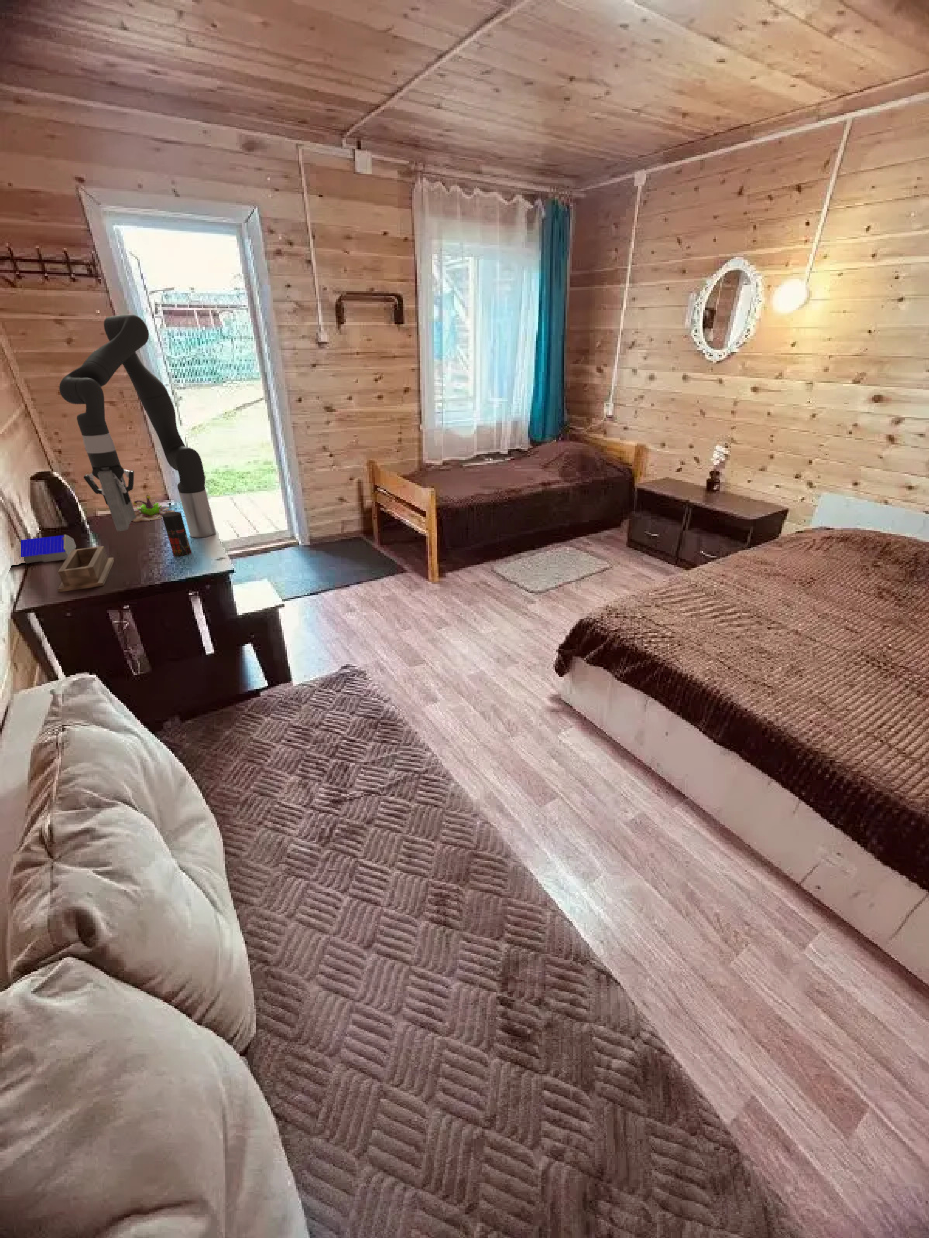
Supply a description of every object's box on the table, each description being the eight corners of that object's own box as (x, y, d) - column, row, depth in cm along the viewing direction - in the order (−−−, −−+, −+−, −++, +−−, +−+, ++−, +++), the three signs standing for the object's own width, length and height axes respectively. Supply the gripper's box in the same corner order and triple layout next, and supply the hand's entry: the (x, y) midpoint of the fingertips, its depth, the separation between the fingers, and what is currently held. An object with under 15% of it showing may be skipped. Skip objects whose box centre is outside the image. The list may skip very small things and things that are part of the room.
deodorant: (172, 553, 190) (161, 513, 183) (190, 550, 193) (180, 510, 186) (174, 558, 185) (162, 517, 178) (192, 555, 188) (181, 515, 181)
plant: (133, 529, 216) (124, 502, 211) (122, 518, 229) (114, 493, 223) (184, 519, 228) (177, 494, 222) (171, 510, 240) (164, 485, 235)
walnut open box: (114, 560, 184) (108, 543, 182) (103, 585, 165) (97, 568, 162) (74, 565, 180) (68, 548, 177) (58, 592, 161) (51, 574, 158)
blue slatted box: (77, 547, 196) (70, 528, 193) (68, 560, 185) (60, 540, 182) (6, 555, 189) (-3, 536, 186) (-8, 569, 178) (-18, 549, 174)
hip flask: (127, 530, 164) (105, 465, 154) (112, 532, 162) (89, 466, 153) (137, 516, 177) (117, 455, 167) (123, 517, 176) (103, 456, 166)
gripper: (129, 445, 164) (145, 499, 172) (76, 449, 159) (95, 504, 167) (126, 449, 158) (143, 505, 166) (71, 454, 153) (91, 511, 161)
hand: (119, 504), depth 167 cm, fingers closed on hip flask, 4 cm apart
